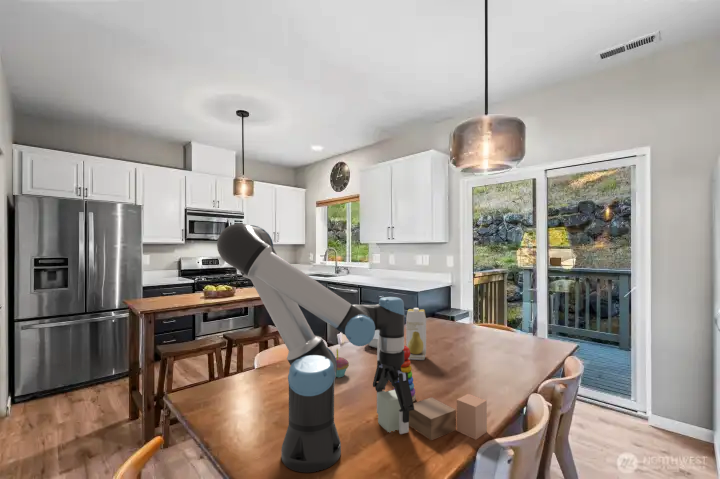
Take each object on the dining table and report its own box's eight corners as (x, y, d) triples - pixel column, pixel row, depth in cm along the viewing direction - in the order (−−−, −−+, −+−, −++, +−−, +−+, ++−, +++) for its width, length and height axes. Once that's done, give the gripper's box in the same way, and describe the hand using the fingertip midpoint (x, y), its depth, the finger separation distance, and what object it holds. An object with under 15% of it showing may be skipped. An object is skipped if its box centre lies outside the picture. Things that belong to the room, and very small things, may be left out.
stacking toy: (400, 392, 126) (400, 341, 126) (420, 398, 121) (419, 345, 121) (388, 400, 120) (388, 345, 120) (408, 406, 114) (408, 350, 115)
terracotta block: (475, 439, 95) (475, 406, 95) (456, 430, 100) (456, 399, 100) (486, 432, 99) (486, 400, 99) (468, 423, 104) (467, 393, 104)
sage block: (388, 432, 99) (388, 401, 99) (378, 423, 104) (378, 393, 104) (405, 427, 101) (405, 397, 101) (395, 418, 107) (395, 389, 107)
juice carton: (406, 360, 162) (406, 308, 162) (406, 354, 169) (406, 305, 170) (426, 361, 160) (426, 309, 160) (426, 355, 168) (425, 306, 168)
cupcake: (345, 380, 138) (345, 349, 138) (325, 378, 139) (325, 348, 140) (350, 372, 146) (350, 343, 146) (331, 370, 148) (331, 342, 148)
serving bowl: (357, 342, 191) (357, 330, 191) (392, 339, 197) (392, 327, 197) (370, 353, 171) (370, 340, 171) (408, 350, 177) (408, 336, 177)
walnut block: (431, 441, 95) (431, 419, 95) (407, 425, 103) (407, 405, 103) (456, 430, 100) (456, 409, 100) (431, 416, 109) (431, 397, 109)
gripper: (427, 359, 94) (427, 439, 93) (382, 338, 116) (382, 402, 115) (403, 363, 90) (404, 446, 90) (362, 341, 112) (362, 407, 112)
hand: (391, 422), depth 103 cm, fingers open, 12 cm apart
